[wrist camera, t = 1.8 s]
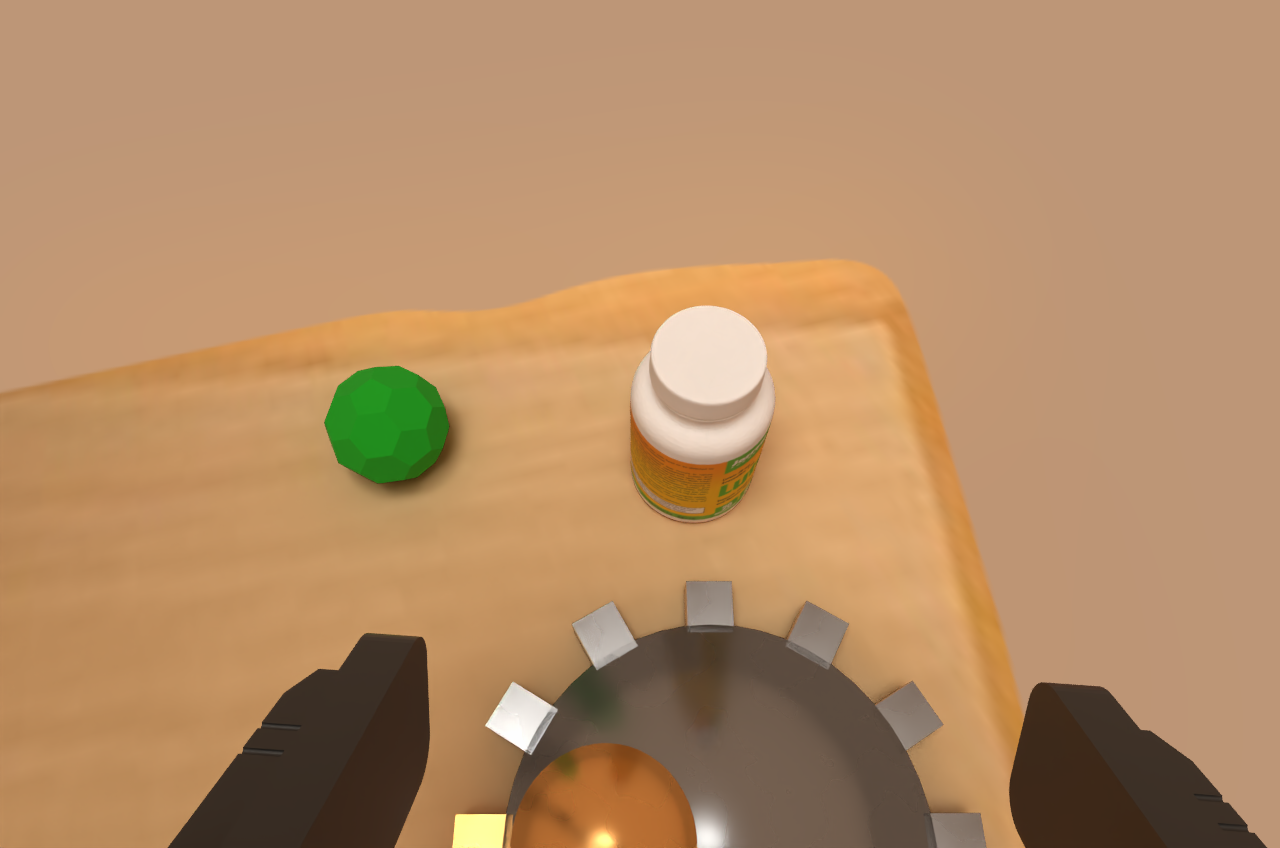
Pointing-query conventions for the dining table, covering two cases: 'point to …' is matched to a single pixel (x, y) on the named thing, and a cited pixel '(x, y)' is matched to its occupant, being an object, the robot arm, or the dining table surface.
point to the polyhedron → (387, 424)
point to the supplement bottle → (700, 413)
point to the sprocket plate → (715, 745)
